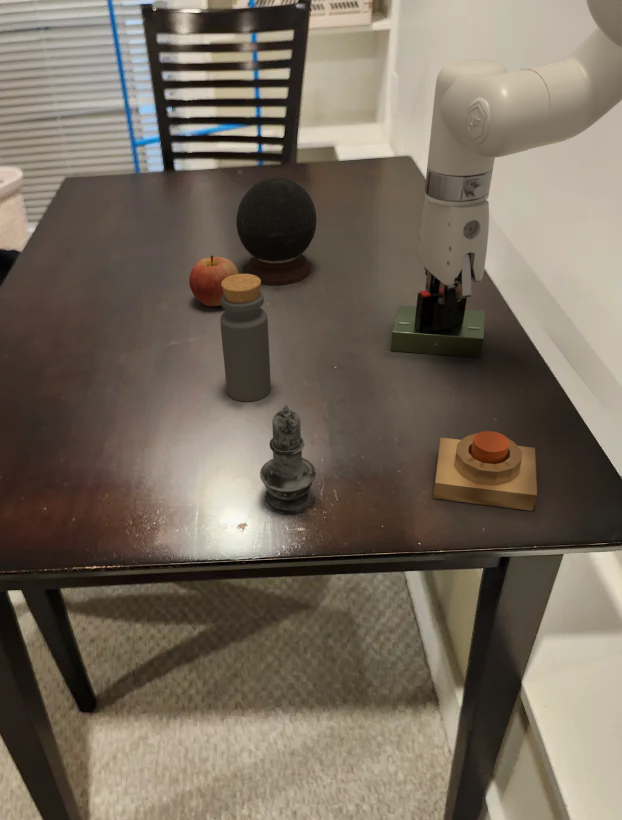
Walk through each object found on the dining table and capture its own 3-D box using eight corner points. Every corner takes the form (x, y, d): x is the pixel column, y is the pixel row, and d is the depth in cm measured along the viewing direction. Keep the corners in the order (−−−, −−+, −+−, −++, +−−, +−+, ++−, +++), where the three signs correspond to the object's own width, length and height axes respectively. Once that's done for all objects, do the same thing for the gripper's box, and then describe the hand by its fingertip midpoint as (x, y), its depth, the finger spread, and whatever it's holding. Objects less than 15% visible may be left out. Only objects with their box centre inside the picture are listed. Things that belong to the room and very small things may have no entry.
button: (506, 446, 73) (509, 432, 72) (506, 467, 71) (509, 453, 69) (471, 442, 74) (473, 429, 73) (470, 462, 71) (472, 449, 70)
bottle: (228, 404, 89) (217, 294, 79) (225, 380, 93) (215, 273, 83) (273, 399, 89) (268, 289, 79) (268, 375, 93) (263, 269, 83)
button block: (530, 463, 76) (538, 434, 74) (532, 511, 71) (541, 481, 68) (438, 452, 79) (442, 424, 76) (432, 498, 73) (437, 469, 70)
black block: (457, 319, 95) (463, 283, 92) (463, 324, 94) (468, 288, 91) (413, 327, 95) (417, 291, 91) (418, 332, 93) (422, 296, 90)
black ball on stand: (326, 280, 114) (327, 186, 104) (249, 292, 113) (243, 198, 103) (304, 251, 124) (303, 162, 114) (233, 262, 122) (226, 172, 113)
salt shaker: (316, 480, 76) (317, 388, 68) (315, 517, 72) (315, 423, 64) (263, 480, 77) (258, 388, 69) (259, 515, 73) (252, 422, 65)
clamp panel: (481, 330, 99) (485, 309, 97) (479, 369, 91) (483, 347, 89) (396, 324, 102) (398, 304, 100) (387, 361, 94) (389, 340, 92)
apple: (235, 315, 107) (231, 265, 102) (186, 313, 109) (180, 264, 103) (246, 292, 113) (242, 244, 108) (199, 290, 115) (193, 243, 109)
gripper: (521, 199, 77) (492, 346, 89) (456, 160, 88) (438, 295, 101) (459, 208, 76) (439, 356, 88) (401, 168, 87) (390, 304, 100)
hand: (439, 323), depth 94 cm, fingers closed on black block
